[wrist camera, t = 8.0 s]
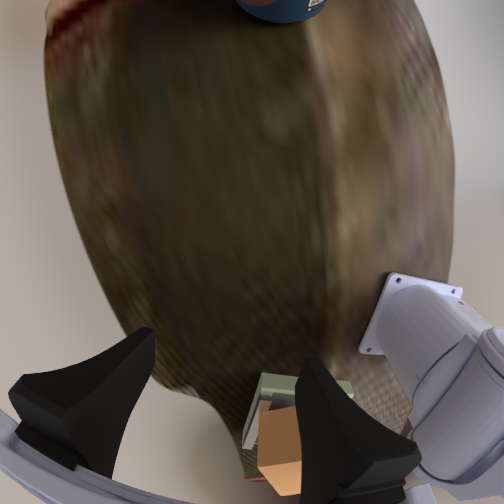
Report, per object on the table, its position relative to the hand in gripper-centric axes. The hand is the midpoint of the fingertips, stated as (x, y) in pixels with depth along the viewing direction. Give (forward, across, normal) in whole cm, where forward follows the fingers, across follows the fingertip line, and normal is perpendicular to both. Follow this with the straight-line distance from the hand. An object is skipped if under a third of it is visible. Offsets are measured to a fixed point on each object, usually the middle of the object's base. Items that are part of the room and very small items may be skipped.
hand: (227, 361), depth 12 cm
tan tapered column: (+6, -7, +14) cm, 17 cm away
